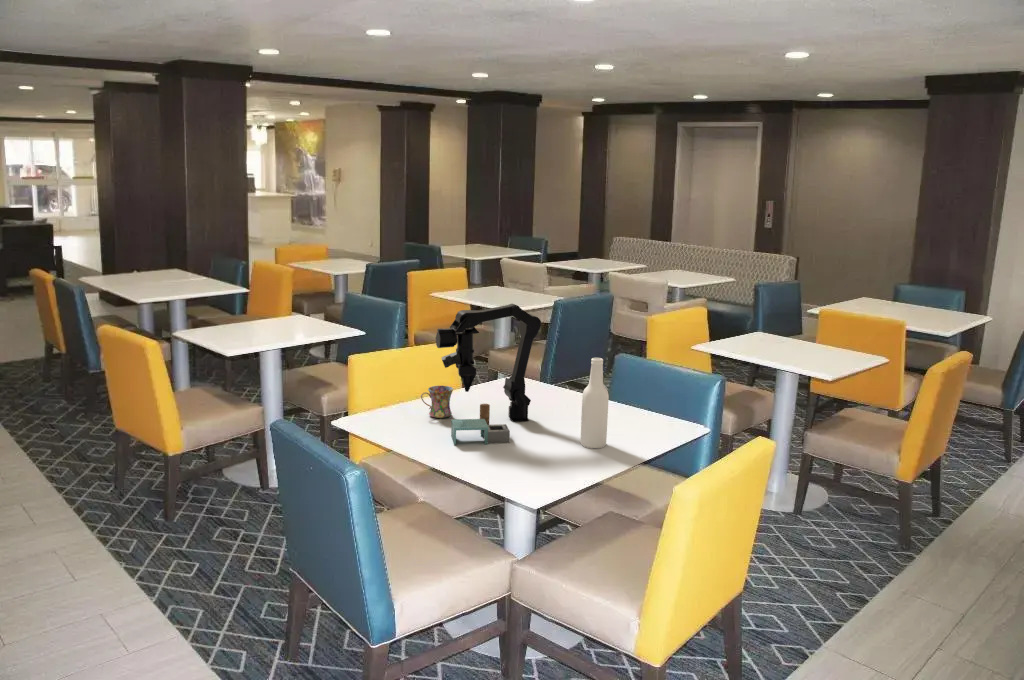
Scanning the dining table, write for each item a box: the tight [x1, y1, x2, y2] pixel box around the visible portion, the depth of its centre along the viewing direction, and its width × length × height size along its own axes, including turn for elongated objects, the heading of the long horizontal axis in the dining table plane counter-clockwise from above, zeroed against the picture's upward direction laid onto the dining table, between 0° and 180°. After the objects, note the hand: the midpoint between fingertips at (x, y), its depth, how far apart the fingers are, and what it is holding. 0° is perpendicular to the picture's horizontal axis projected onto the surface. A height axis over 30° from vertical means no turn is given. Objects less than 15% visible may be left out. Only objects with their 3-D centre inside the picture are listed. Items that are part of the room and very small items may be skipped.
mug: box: [420, 385, 454, 419], centre depth 309 cm, size 12×9×11 cm
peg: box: [479, 403, 491, 425], centre depth 299 cm, size 4×4×8 cm
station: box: [450, 418, 511, 446], centre depth 284 cm, size 19×10×6 cm, turn 100°
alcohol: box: [579, 357, 610, 449], centre depth 279 cm, size 9×9×30 cm
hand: (465, 388), depth 300 cm, fingers open, 9 cm apart
